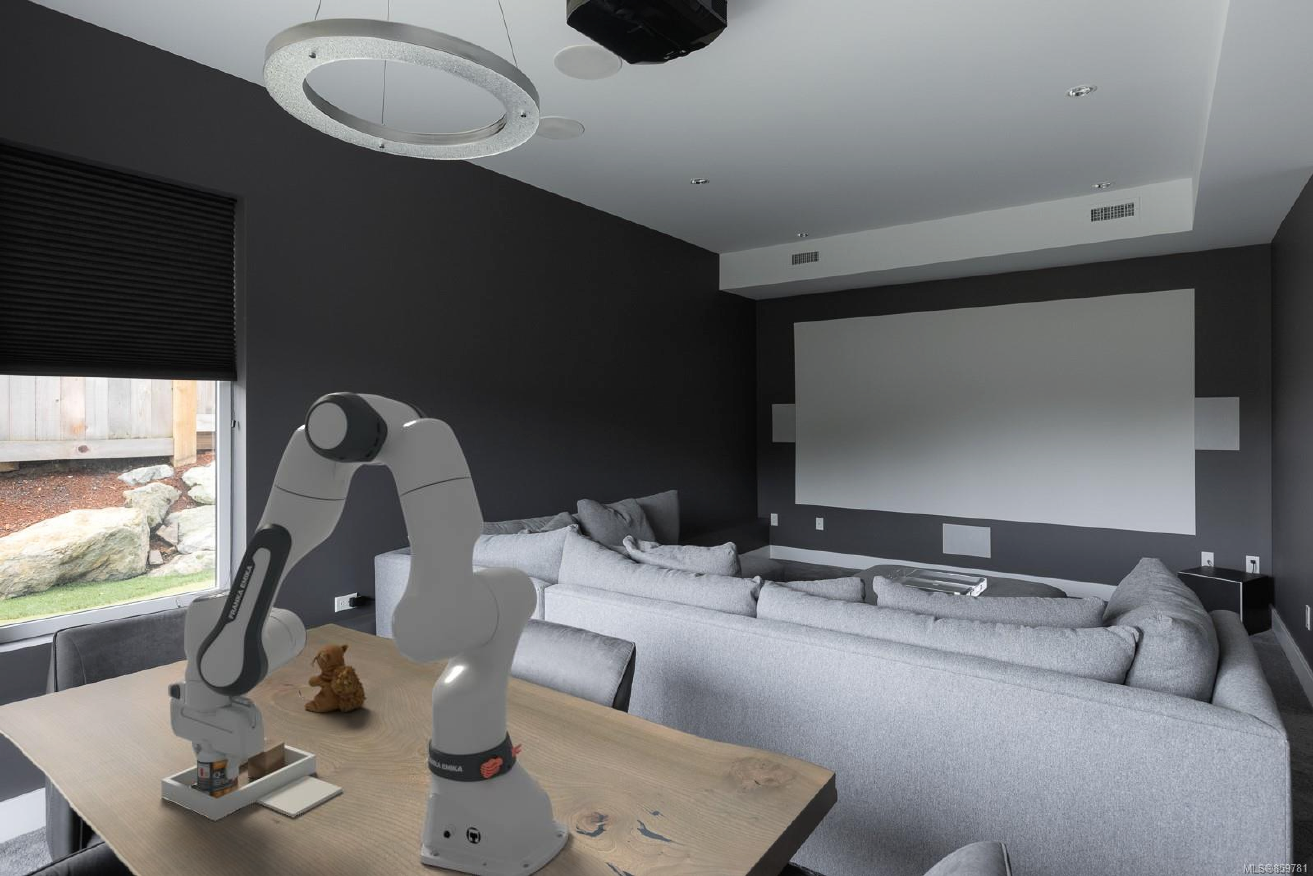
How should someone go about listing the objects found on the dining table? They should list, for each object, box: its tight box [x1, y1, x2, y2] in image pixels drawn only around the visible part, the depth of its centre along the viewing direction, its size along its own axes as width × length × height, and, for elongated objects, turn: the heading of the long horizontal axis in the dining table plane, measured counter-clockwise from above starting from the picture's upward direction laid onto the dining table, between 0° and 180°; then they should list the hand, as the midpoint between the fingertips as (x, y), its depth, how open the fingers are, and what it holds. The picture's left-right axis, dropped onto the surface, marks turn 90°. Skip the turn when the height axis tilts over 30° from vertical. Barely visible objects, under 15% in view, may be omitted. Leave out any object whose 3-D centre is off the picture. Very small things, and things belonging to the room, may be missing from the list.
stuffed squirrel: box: [304, 643, 368, 713], centre depth 154 cm, size 10×14×13 cm
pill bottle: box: [196, 739, 239, 799], centre depth 118 cm, size 6×6×10 cm
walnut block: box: [247, 738, 286, 779], centre depth 126 cm, size 4×4×5 cm
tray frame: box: [161, 737, 317, 821], centre depth 122 cm, size 15×18×3 cm
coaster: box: [256, 775, 343, 818], centre depth 118 cm, size 9×9×1 cm
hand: (217, 771), depth 118 cm, fingers closed on pill bottle, 6 cm apart
